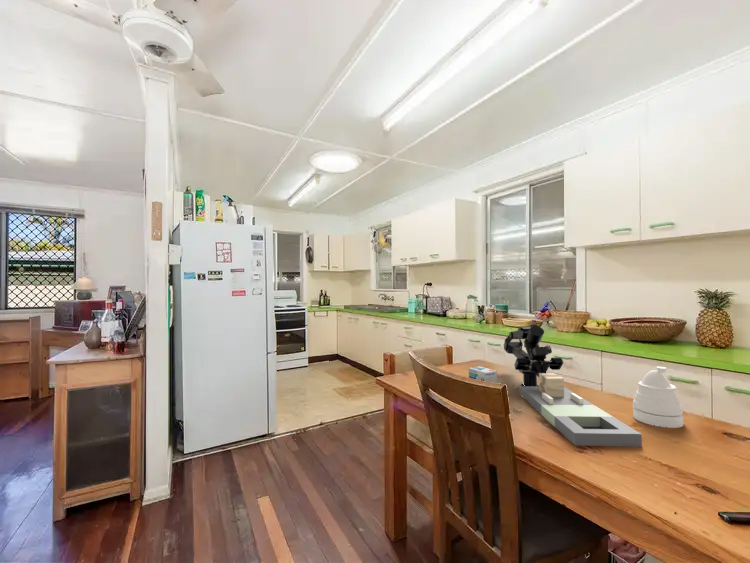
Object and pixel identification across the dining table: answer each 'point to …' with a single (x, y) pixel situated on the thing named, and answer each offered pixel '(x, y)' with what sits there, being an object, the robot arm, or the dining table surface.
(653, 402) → the honey pot
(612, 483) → the dining table surface
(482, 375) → the light bulb box
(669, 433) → the dining table surface
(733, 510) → the dining table surface
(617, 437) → the platform
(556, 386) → the maple block
